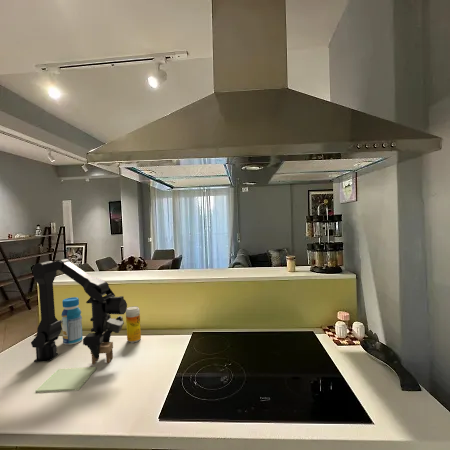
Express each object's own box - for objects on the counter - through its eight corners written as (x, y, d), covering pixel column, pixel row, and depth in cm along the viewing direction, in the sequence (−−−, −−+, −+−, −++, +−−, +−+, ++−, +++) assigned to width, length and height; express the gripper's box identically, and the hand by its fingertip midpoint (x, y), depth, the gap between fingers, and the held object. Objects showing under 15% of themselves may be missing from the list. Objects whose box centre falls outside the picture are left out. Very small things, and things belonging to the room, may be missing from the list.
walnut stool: (91, 364, 115) (90, 347, 115) (96, 358, 120) (95, 342, 120) (109, 363, 116) (108, 346, 115) (113, 357, 120) (112, 341, 120)
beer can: (137, 343, 133) (135, 310, 133) (124, 342, 134) (123, 309, 134) (143, 337, 139) (141, 306, 139) (131, 337, 140) (129, 305, 140)
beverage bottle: (77, 345, 134) (74, 301, 134) (58, 345, 134) (56, 301, 134) (86, 337, 143) (84, 296, 142) (68, 338, 143) (66, 296, 142)
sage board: (35, 392, 98) (35, 390, 98) (58, 370, 112) (58, 368, 112) (78, 390, 98) (78, 388, 98) (96, 368, 112) (96, 366, 112)
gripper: (111, 321, 108) (114, 363, 108) (127, 305, 127) (129, 342, 127) (81, 322, 108) (83, 364, 108) (101, 307, 127) (103, 343, 127)
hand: (102, 352), depth 118 cm, fingers open, 9 cm apart
